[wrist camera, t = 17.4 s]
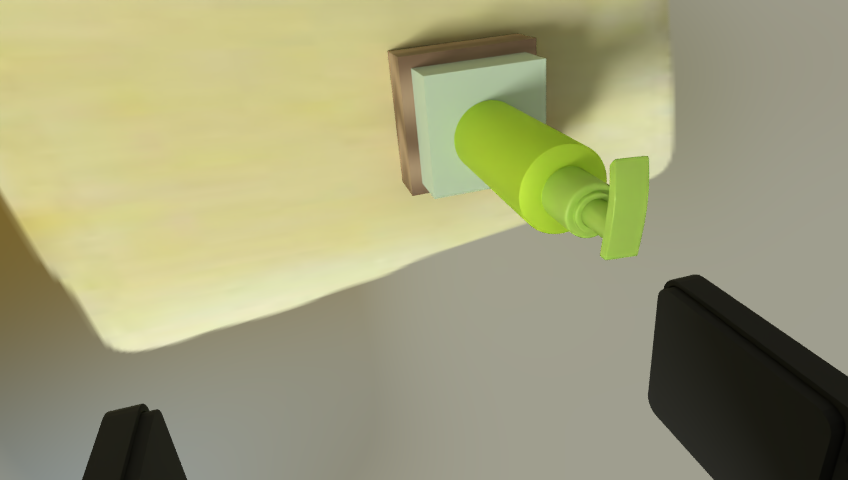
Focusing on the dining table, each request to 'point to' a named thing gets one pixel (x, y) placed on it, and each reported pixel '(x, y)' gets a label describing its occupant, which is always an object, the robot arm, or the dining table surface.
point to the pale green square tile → (456, 93)
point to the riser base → (404, 95)
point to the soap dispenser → (555, 177)
